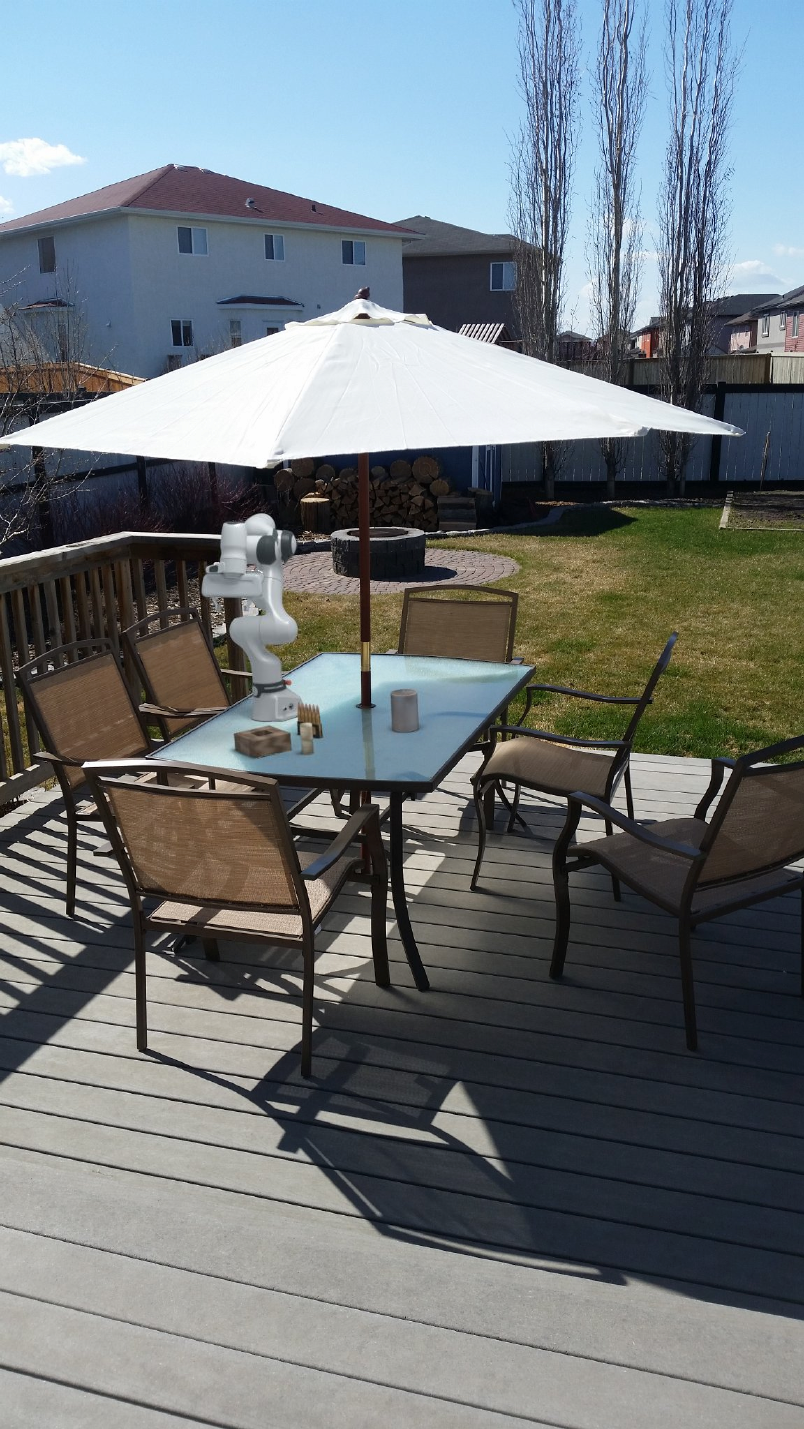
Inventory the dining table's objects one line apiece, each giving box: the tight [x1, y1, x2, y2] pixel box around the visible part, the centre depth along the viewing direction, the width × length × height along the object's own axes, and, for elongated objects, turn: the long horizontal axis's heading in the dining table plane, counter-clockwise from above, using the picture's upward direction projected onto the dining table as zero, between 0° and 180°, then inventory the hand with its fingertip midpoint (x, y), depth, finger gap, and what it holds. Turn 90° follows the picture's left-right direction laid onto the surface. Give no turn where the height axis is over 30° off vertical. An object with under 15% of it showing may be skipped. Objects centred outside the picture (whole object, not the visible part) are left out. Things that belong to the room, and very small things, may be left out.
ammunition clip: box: [296, 702, 324, 740], centre depth 377 cm, size 11×2×12 cm, turn 52°
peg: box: [300, 723, 315, 756], centre depth 358 cm, size 4×4×10 cm
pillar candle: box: [390, 688, 420, 734], centre depth 380 cm, size 10×10×15 cm
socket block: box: [233, 724, 293, 759], centre depth 364 cm, size 14×14×6 cm
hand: (232, 611), depth 355 cm, fingers open, 8 cm apart
